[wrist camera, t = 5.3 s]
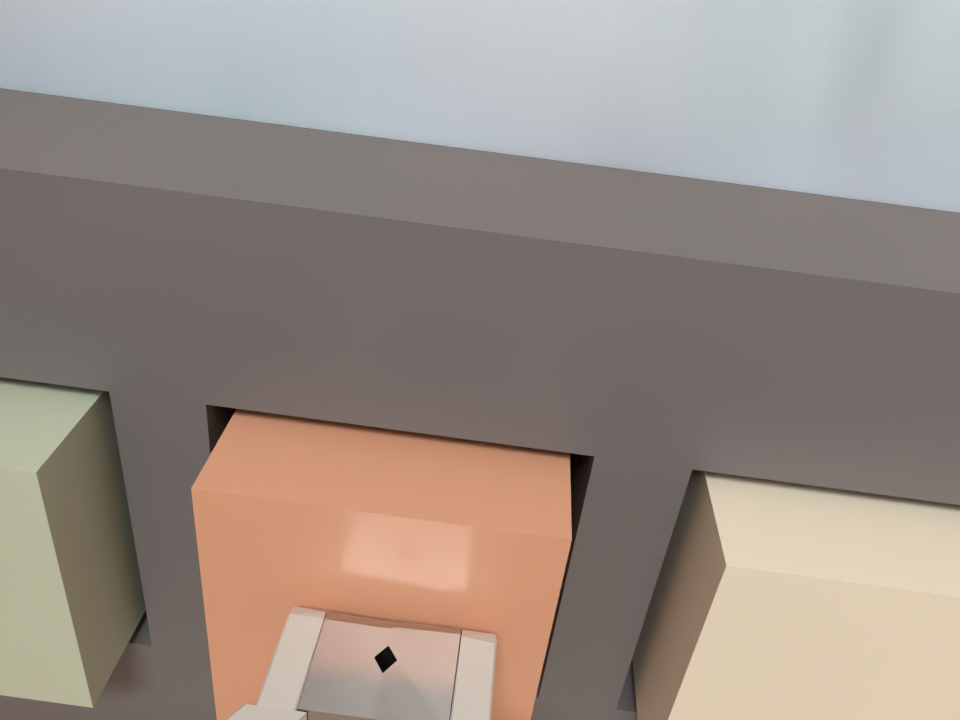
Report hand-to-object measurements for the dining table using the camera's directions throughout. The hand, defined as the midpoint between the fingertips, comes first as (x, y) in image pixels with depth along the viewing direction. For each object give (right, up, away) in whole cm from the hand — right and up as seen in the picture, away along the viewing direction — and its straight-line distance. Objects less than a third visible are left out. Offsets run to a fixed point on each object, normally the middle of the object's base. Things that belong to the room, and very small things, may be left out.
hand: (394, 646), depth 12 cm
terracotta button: (0, +2, +3) cm, 3 cm away
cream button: (+7, +1, +2) cm, 7 cm away
